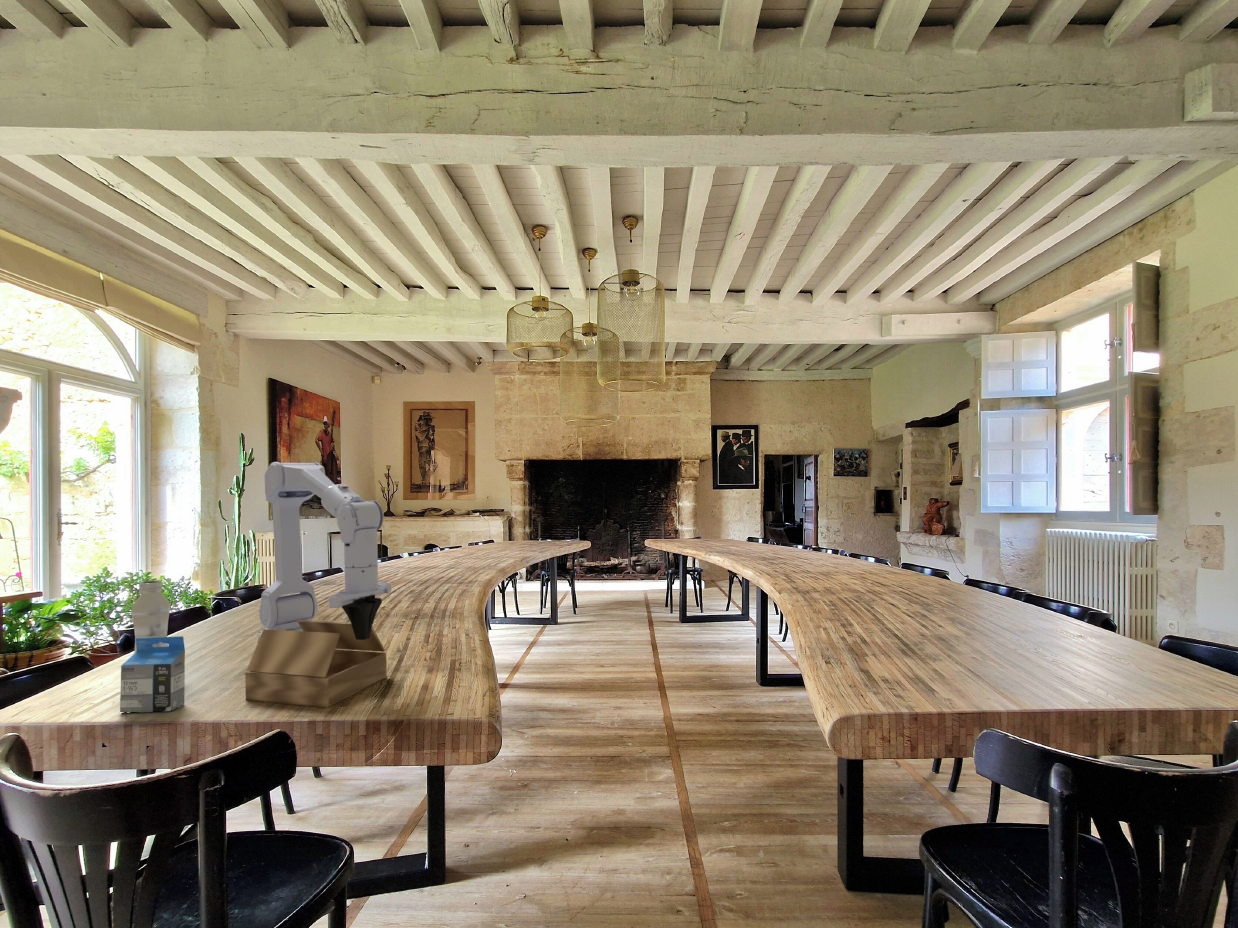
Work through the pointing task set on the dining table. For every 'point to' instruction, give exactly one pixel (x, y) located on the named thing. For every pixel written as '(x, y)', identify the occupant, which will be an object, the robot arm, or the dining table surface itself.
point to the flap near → (294, 652)
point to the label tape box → (154, 676)
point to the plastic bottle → (151, 612)
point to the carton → (320, 681)
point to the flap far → (343, 635)
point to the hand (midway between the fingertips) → (362, 638)
